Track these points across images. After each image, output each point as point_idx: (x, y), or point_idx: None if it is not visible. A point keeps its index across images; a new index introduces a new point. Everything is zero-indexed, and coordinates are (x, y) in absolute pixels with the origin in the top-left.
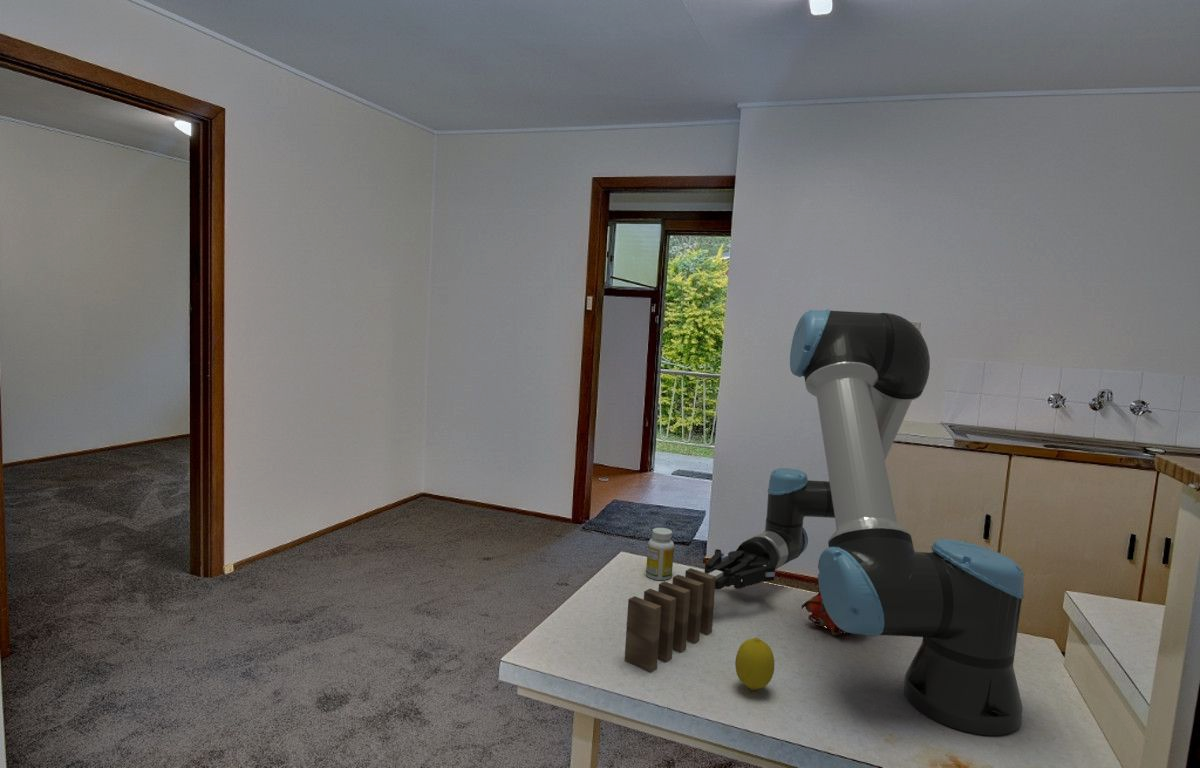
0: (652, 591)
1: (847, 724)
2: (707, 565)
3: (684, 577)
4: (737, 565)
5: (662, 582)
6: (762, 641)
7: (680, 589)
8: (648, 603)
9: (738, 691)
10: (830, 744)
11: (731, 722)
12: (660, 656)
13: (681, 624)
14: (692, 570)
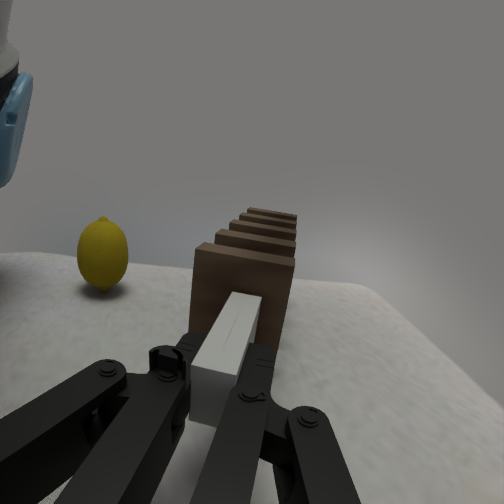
0: (285, 221)
1: (16, 269)
2: (306, 409)
3: (271, 242)
4: (115, 494)
5: (295, 232)
6: (95, 221)
7: (248, 223)
8: (267, 211)
9: (121, 288)
10: (46, 256)
11: (131, 263)
12: None
13: None
14: (279, 260)
